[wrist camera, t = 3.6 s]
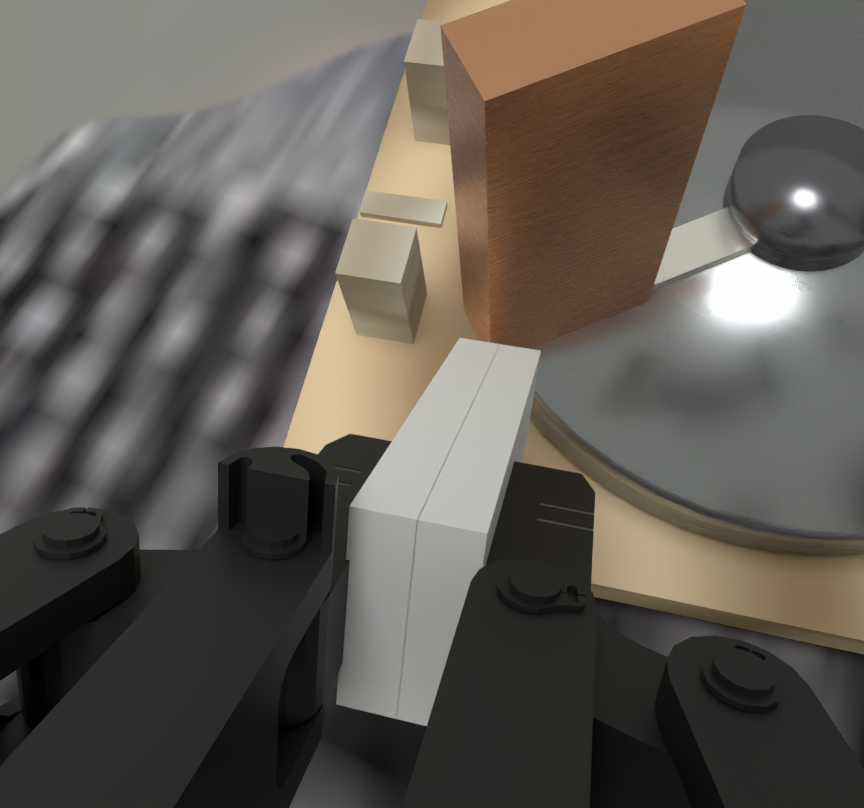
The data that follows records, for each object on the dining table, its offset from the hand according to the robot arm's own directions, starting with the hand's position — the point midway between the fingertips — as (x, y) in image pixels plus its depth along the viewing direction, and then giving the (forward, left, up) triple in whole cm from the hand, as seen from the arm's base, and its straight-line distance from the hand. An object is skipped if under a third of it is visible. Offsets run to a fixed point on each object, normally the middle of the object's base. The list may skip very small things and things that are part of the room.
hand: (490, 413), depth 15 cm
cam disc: (-6, -8, -5) cm, 11 cm away
